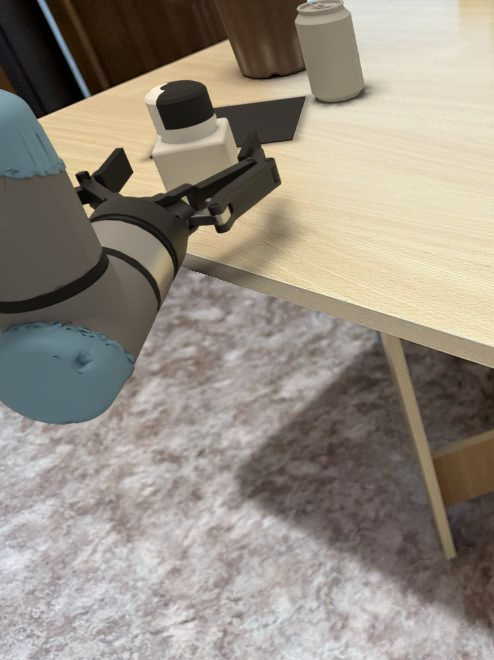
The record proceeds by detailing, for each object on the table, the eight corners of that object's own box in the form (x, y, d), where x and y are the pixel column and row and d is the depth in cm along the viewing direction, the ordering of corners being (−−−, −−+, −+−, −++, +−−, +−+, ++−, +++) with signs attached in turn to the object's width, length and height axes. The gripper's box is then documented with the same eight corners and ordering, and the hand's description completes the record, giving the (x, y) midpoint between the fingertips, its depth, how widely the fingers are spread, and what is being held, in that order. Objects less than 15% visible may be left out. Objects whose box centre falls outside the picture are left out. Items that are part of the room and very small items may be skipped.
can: (335, 107, 94) (314, 12, 86) (302, 99, 98) (279, 7, 91) (376, 90, 98) (359, -2, 90) (343, 82, 102) (324, -7, 95)
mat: (149, 158, 86) (149, 157, 86) (181, 113, 99) (180, 112, 99) (292, 139, 86) (291, 138, 86) (305, 97, 99) (305, 96, 99)
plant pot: (349, 53, 114) (326, -59, 104) (287, 86, 103) (255, -34, 93) (273, 49, 121) (245, -56, 111) (208, 80, 110) (171, -33, 100)
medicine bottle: (247, 177, 78) (212, 69, 71) (244, 205, 73) (206, 90, 65) (183, 189, 78) (141, 81, 70) (176, 218, 72) (129, 103, 65)
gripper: (-7, 318, 56) (86, 200, 73) (296, 280, 56) (320, 170, 73) (-61, 238, 51) (52, 131, 68) (270, 196, 51) (302, 99, 68)
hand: (190, 151), depth 70 cm, fingers open, 13 cm apart
